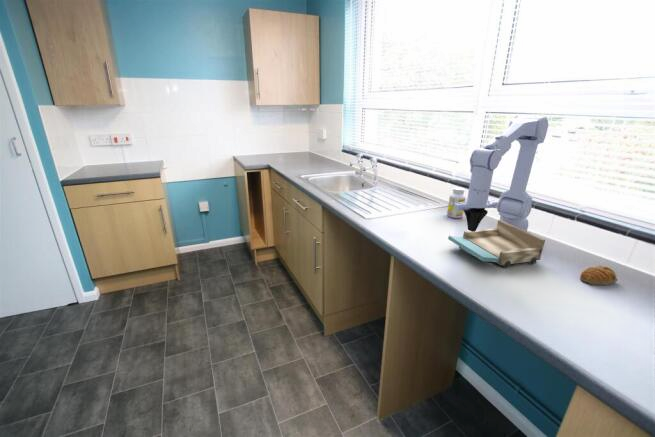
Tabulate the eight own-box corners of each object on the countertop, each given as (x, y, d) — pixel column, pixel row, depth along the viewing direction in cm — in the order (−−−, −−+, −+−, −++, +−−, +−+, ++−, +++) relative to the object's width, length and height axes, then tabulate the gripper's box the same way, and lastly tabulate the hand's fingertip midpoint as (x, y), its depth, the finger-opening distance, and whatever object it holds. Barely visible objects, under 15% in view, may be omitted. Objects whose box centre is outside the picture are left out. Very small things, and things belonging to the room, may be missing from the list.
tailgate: (462, 237, 110) (448, 235, 108) (499, 258, 95) (483, 257, 93) (461, 241, 111) (447, 240, 109) (497, 263, 96) (481, 262, 94)
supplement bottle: (463, 215, 143) (468, 188, 138) (460, 219, 137) (465, 191, 133) (448, 212, 146) (452, 186, 142) (445, 216, 141) (449, 188, 137)
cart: (496, 241, 116) (500, 220, 113) (538, 263, 99) (545, 239, 97) (461, 244, 112) (465, 223, 109) (499, 268, 96) (505, 244, 93)
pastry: (597, 289, 86) (601, 277, 85) (571, 278, 92) (575, 266, 91) (618, 283, 89) (622, 271, 88) (591, 272, 95) (595, 261, 94)
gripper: (489, 184, 101) (481, 224, 105) (450, 186, 97) (444, 227, 102) (506, 190, 94) (497, 232, 99) (465, 192, 91) (458, 236, 95)
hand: (471, 230), depth 100 cm, fingers closed
